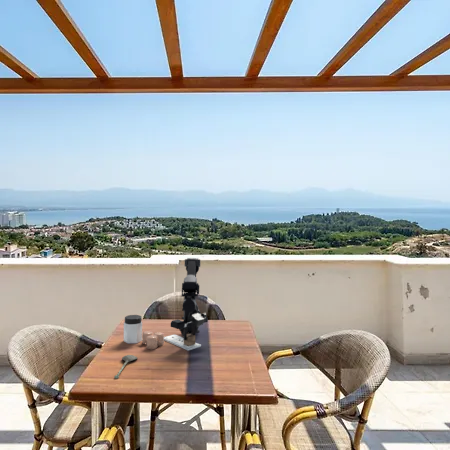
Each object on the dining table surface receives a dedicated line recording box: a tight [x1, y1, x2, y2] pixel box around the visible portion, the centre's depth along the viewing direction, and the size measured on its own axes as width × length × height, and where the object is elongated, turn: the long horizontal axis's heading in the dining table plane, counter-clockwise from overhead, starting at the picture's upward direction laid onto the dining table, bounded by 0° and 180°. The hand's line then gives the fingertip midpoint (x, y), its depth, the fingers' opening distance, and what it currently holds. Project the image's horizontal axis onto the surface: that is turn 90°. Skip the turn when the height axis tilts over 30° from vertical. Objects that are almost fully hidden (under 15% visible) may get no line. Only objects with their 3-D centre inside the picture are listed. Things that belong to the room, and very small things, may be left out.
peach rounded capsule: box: [153, 331, 165, 347], centre depth 184 cm, size 5×5×5 cm
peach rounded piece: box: [141, 330, 154, 346], centre depth 185 cm, size 5×5×5 cm
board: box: [164, 333, 202, 351], centre depth 186 cm, size 8×21×1 cm, turn 45°
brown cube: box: [184, 333, 196, 346], centre depth 181 cm, size 4×4×4 cm
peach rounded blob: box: [146, 334, 159, 350], centre depth 179 cm, size 5×5×5 cm
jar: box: [123, 314, 143, 345], centre depth 187 cm, size 9×8×12 cm
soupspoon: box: [114, 354, 138, 379], centre depth 156 cm, size 22×3×7 cm
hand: (189, 339), depth 181 cm, fingers open, 5 cm apart
